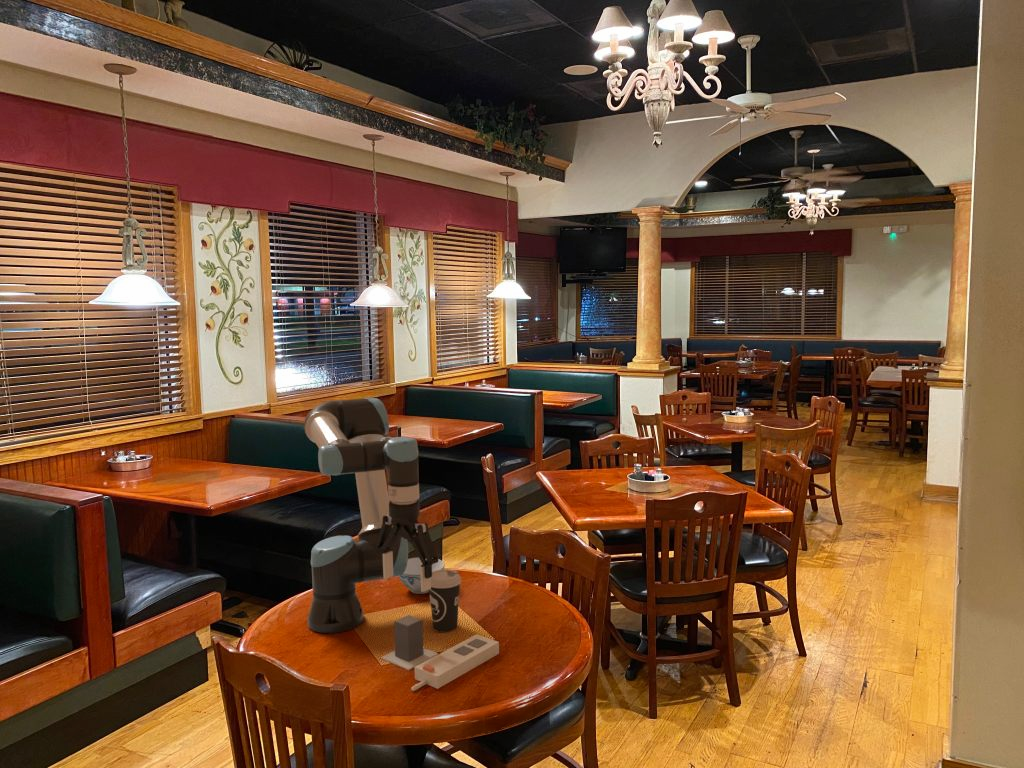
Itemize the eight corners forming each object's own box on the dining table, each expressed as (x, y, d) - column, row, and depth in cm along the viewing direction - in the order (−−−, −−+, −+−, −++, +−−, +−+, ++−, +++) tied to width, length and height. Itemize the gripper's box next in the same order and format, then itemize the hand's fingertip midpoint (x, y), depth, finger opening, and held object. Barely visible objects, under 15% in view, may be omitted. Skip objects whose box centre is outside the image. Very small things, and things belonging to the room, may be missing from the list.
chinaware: (397, 601, 227) (397, 576, 226) (395, 583, 242) (394, 559, 241) (448, 596, 230) (447, 571, 229) (442, 578, 245) (441, 555, 244)
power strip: (423, 697, 172) (422, 681, 172) (400, 686, 177) (400, 671, 176) (499, 653, 193) (498, 639, 192) (476, 645, 197) (476, 631, 197)
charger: (395, 656, 191) (393, 621, 190) (409, 649, 195) (408, 614, 194) (409, 662, 188) (407, 626, 187) (423, 654, 192) (422, 619, 191)
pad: (381, 658, 191) (381, 657, 191) (410, 644, 199) (410, 642, 198) (408, 670, 185) (408, 668, 184) (437, 655, 192) (437, 653, 192)
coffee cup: (457, 636, 203) (455, 581, 201) (423, 633, 205) (421, 579, 203) (466, 621, 212) (465, 568, 211) (433, 618, 214) (432, 567, 212)
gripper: (359, 495, 192) (362, 576, 195) (428, 512, 177) (431, 600, 179) (381, 489, 198) (384, 568, 201) (451, 505, 182) (453, 590, 185)
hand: (406, 583), depth 190 cm, fingers open, 13 cm apart
